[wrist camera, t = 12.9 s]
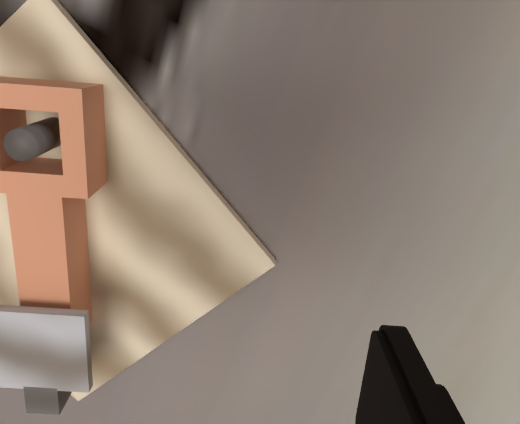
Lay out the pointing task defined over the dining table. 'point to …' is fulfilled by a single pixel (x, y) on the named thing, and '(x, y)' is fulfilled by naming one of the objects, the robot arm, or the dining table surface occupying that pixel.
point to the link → (53, 190)
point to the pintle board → (113, 229)
